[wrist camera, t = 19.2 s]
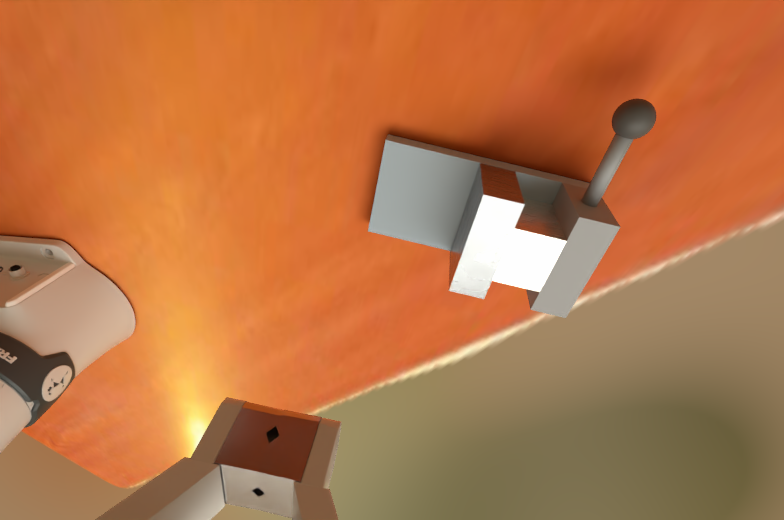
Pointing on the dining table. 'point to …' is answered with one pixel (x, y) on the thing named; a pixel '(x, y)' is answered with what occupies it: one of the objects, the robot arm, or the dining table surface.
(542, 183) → the vise base
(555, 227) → the block
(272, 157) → the dining table surface
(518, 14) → the dining table surface
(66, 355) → the robot arm
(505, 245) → the jaw
